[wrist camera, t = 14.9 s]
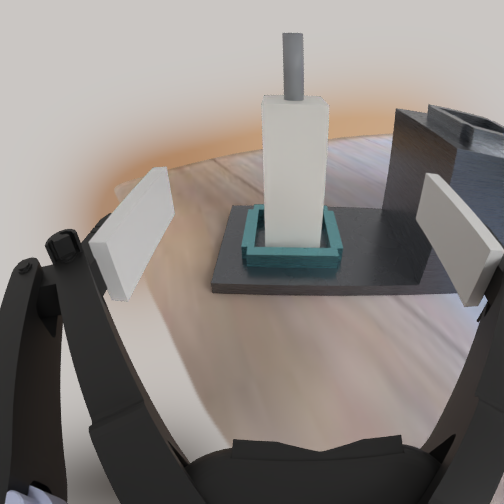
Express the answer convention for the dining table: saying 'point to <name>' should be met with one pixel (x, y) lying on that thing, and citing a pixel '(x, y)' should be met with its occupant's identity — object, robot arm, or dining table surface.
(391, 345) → the dining table surface
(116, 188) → the dining table surface
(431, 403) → the dining table surface
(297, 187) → the plug
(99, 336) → the robot arm
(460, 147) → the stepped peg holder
